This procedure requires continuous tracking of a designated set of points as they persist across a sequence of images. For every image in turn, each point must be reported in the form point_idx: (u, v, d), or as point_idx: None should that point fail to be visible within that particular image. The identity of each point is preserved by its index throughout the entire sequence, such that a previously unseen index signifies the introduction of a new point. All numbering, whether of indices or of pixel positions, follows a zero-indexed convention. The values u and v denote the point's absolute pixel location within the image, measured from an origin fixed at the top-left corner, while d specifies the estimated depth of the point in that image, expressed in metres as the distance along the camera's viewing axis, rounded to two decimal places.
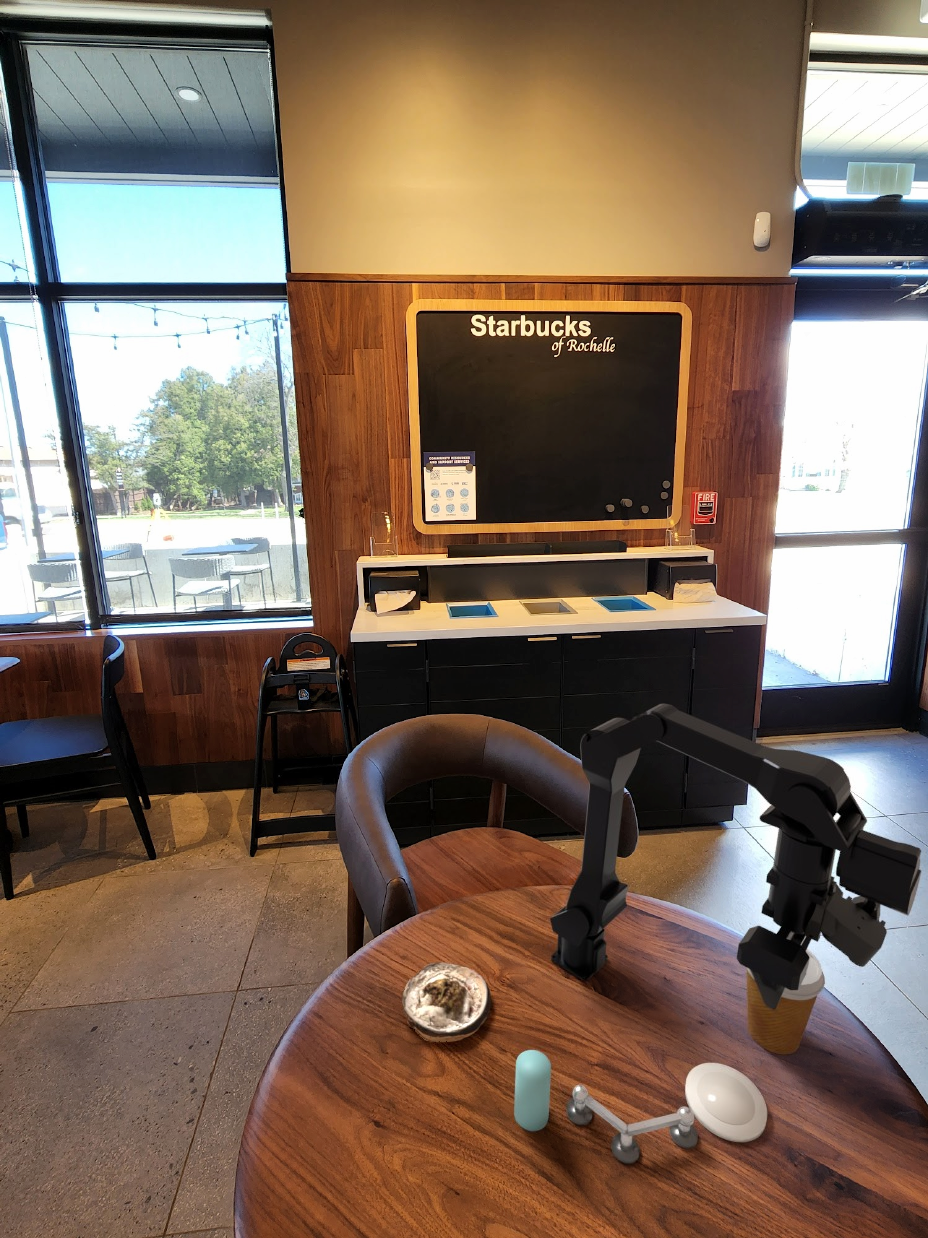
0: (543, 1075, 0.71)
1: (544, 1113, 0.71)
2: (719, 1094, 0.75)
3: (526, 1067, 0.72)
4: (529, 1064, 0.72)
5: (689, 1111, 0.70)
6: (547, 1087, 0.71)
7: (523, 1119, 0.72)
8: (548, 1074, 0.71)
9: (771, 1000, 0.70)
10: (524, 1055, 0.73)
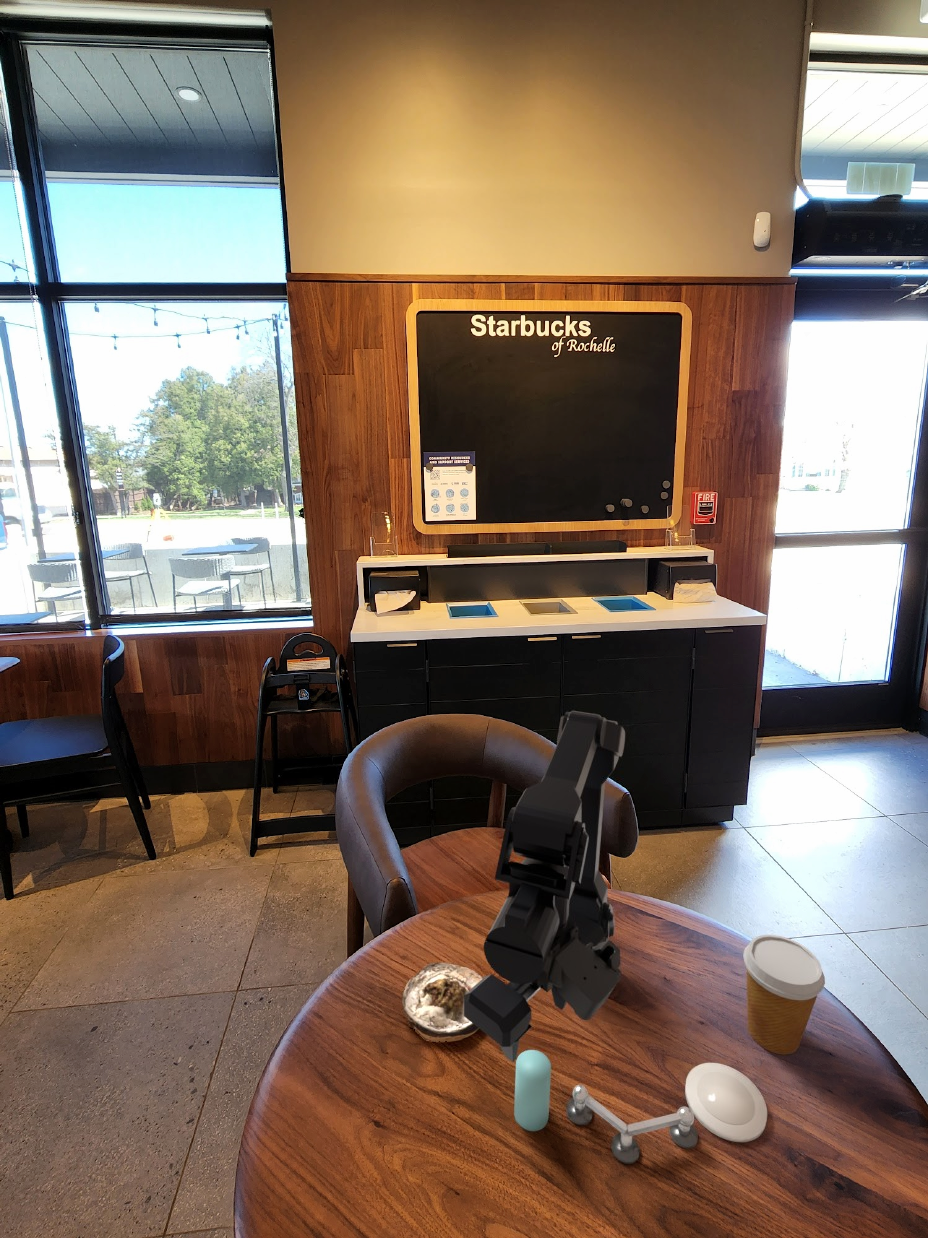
0: (543, 1075, 0.71)
1: (544, 1113, 0.71)
2: (719, 1094, 0.75)
3: (526, 1067, 0.72)
4: (529, 1064, 0.72)
5: (689, 1111, 0.70)
6: (547, 1087, 0.71)
7: (523, 1119, 0.72)
8: (548, 1074, 0.71)
9: (508, 1052, 0.67)
10: (524, 1055, 0.73)
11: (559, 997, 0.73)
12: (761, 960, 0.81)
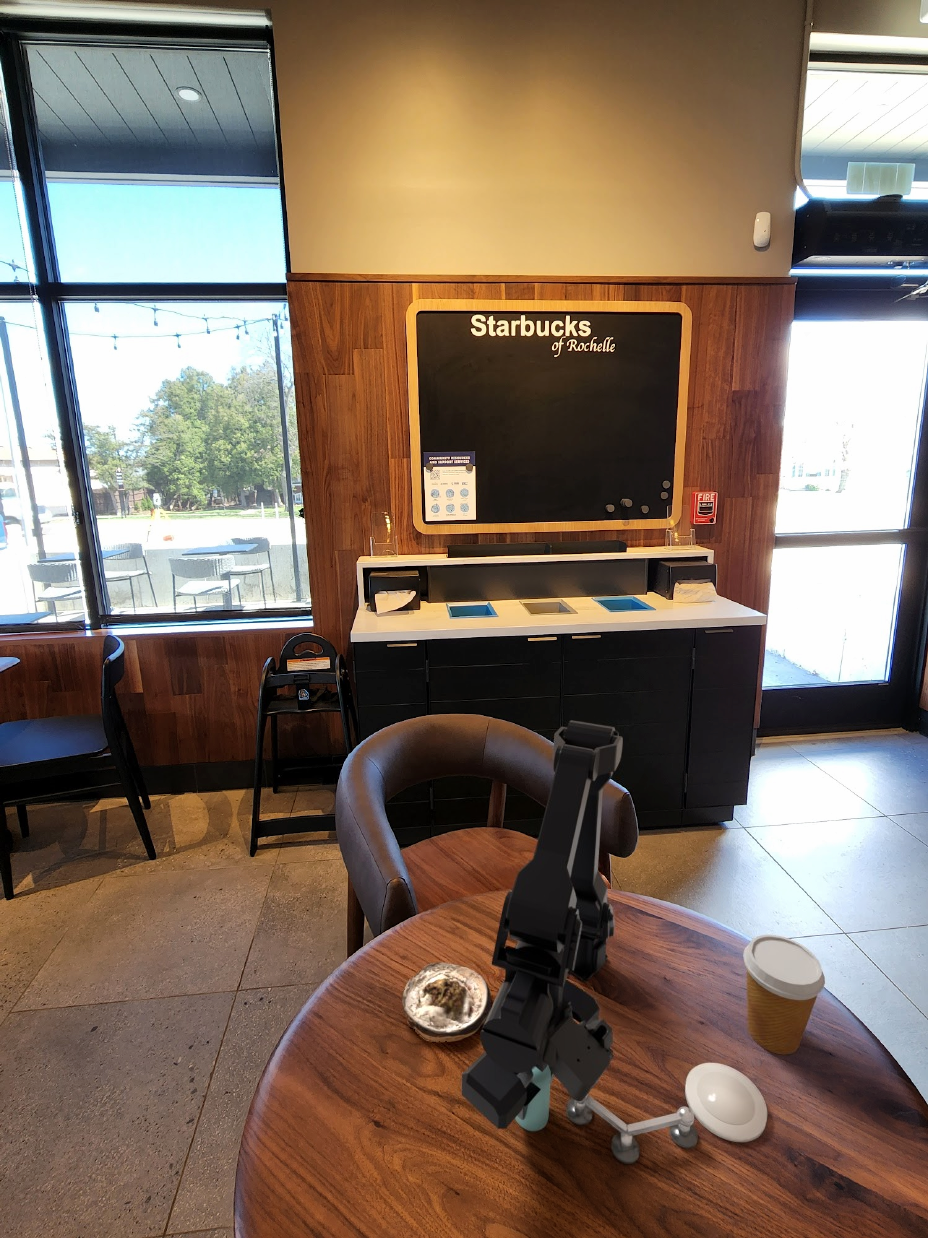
0: (543, 1075, 0.71)
1: (544, 1112, 0.71)
2: (719, 1094, 0.75)
3: None
4: None
5: (689, 1111, 0.70)
6: (547, 1087, 0.71)
7: None
8: (548, 1074, 0.71)
9: None
10: None
11: None
12: (761, 960, 0.81)
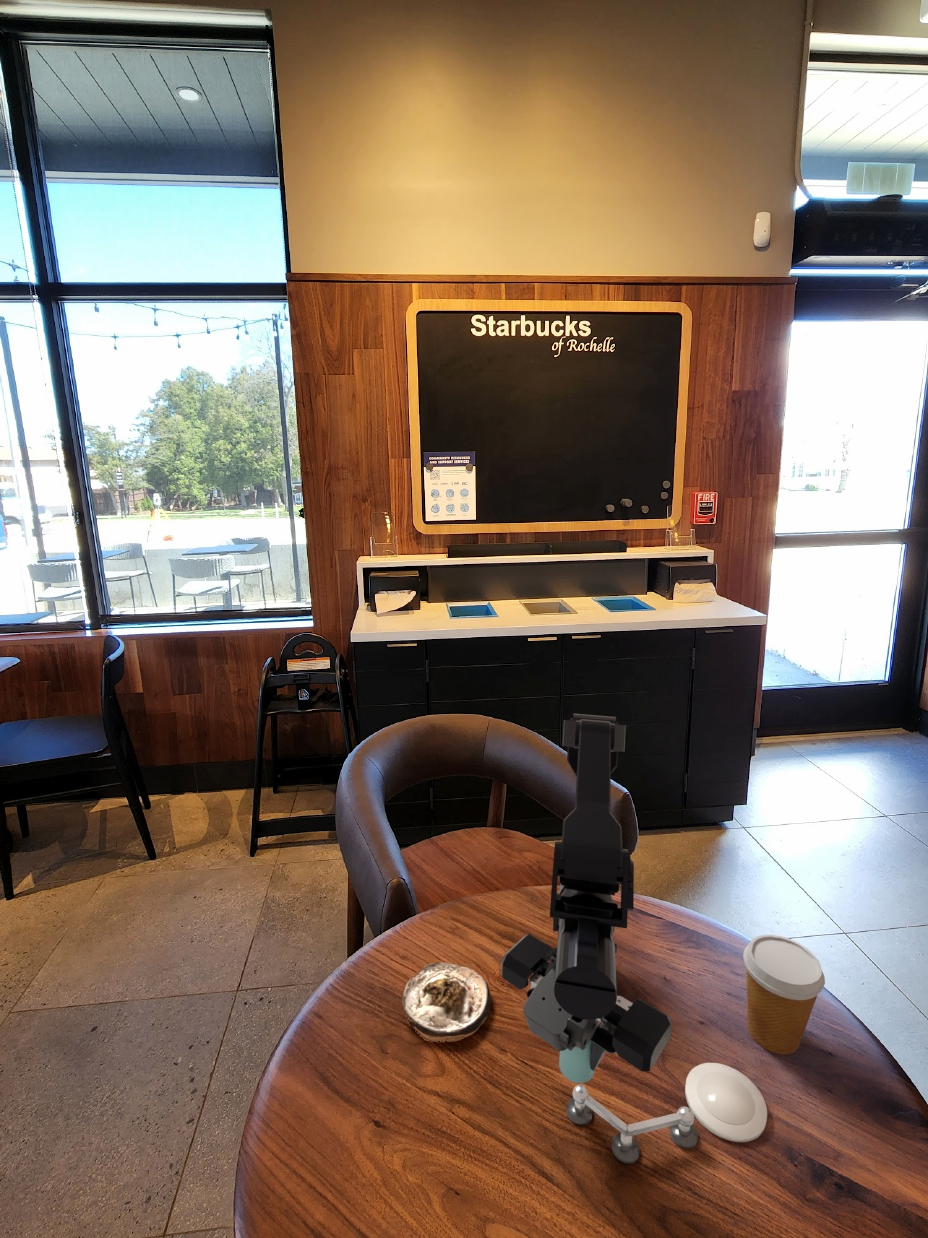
0: None
1: (566, 1062, 0.70)
2: (719, 1094, 0.75)
3: None
4: None
5: (689, 1111, 0.70)
6: None
7: None
8: None
9: None
10: None
11: None
12: (761, 960, 0.81)
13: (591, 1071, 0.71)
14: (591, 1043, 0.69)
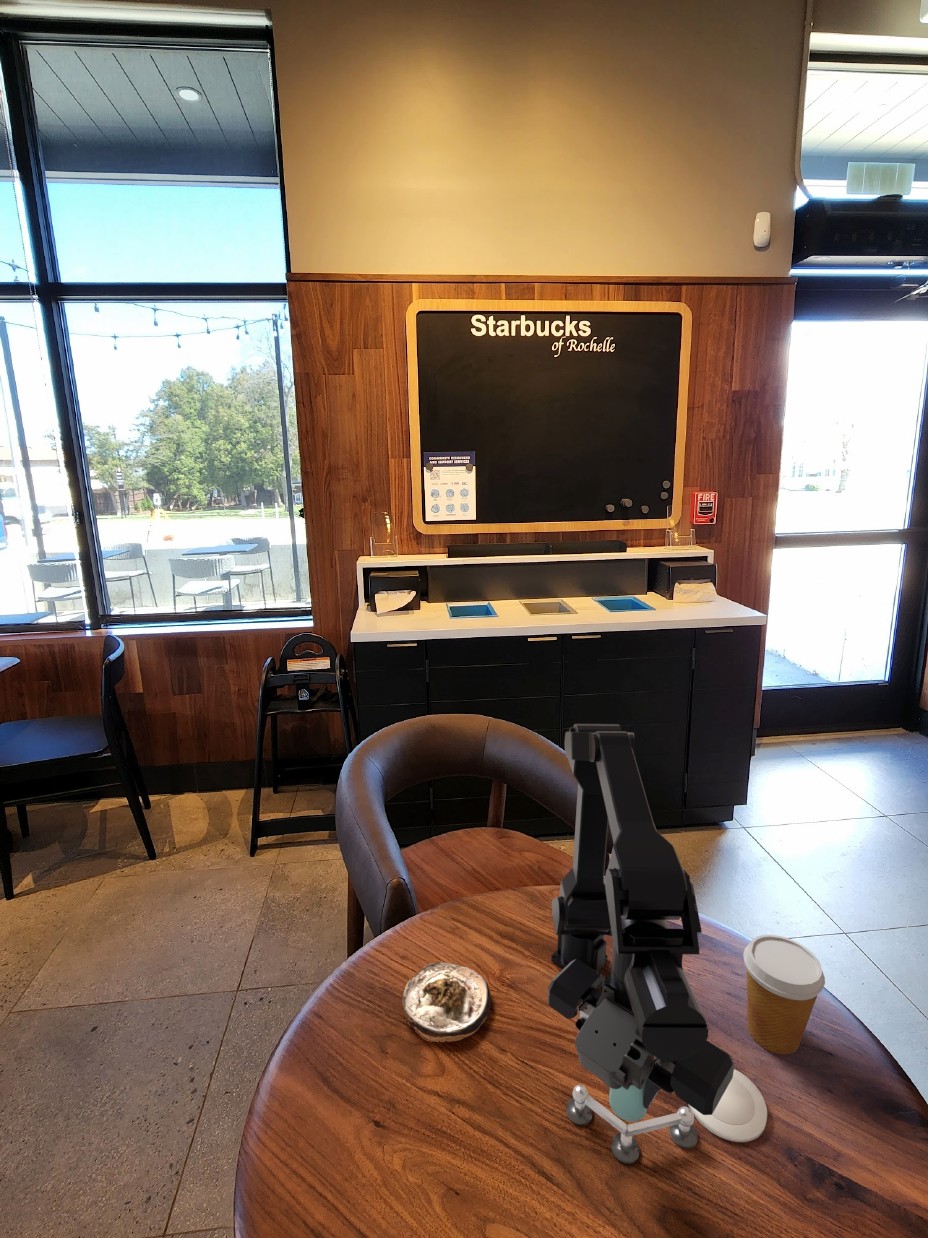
0: None
1: (617, 1098, 0.66)
2: None
3: None
4: None
5: (689, 1111, 0.70)
6: None
7: None
8: None
9: None
10: None
11: None
12: (761, 960, 0.81)
13: (644, 1109, 0.66)
14: None
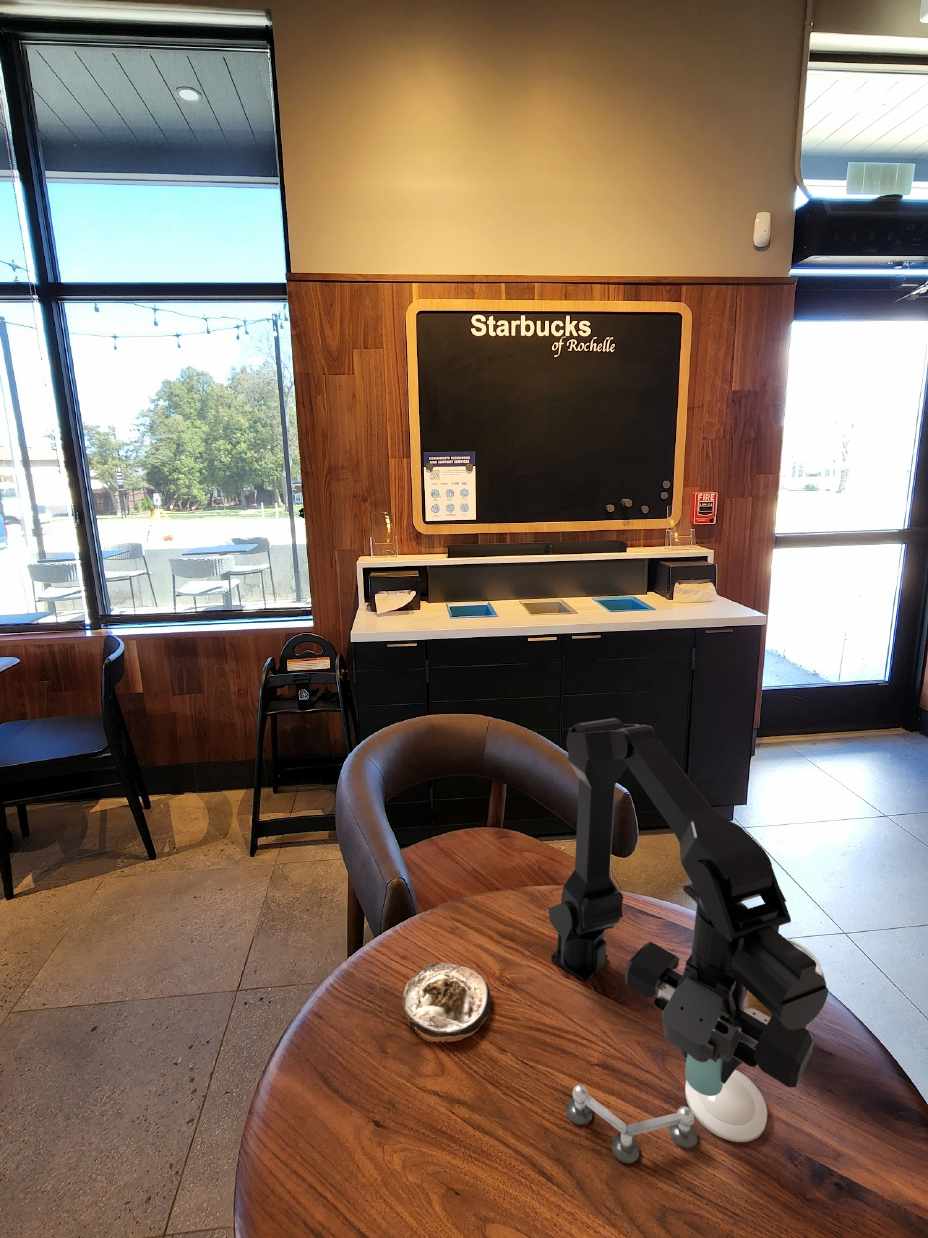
0: None
1: (695, 1073, 0.69)
2: (719, 1094, 0.75)
3: None
4: None
5: (689, 1111, 0.70)
6: None
7: None
8: None
9: None
10: None
11: None
12: None
13: (721, 1084, 0.69)
14: None
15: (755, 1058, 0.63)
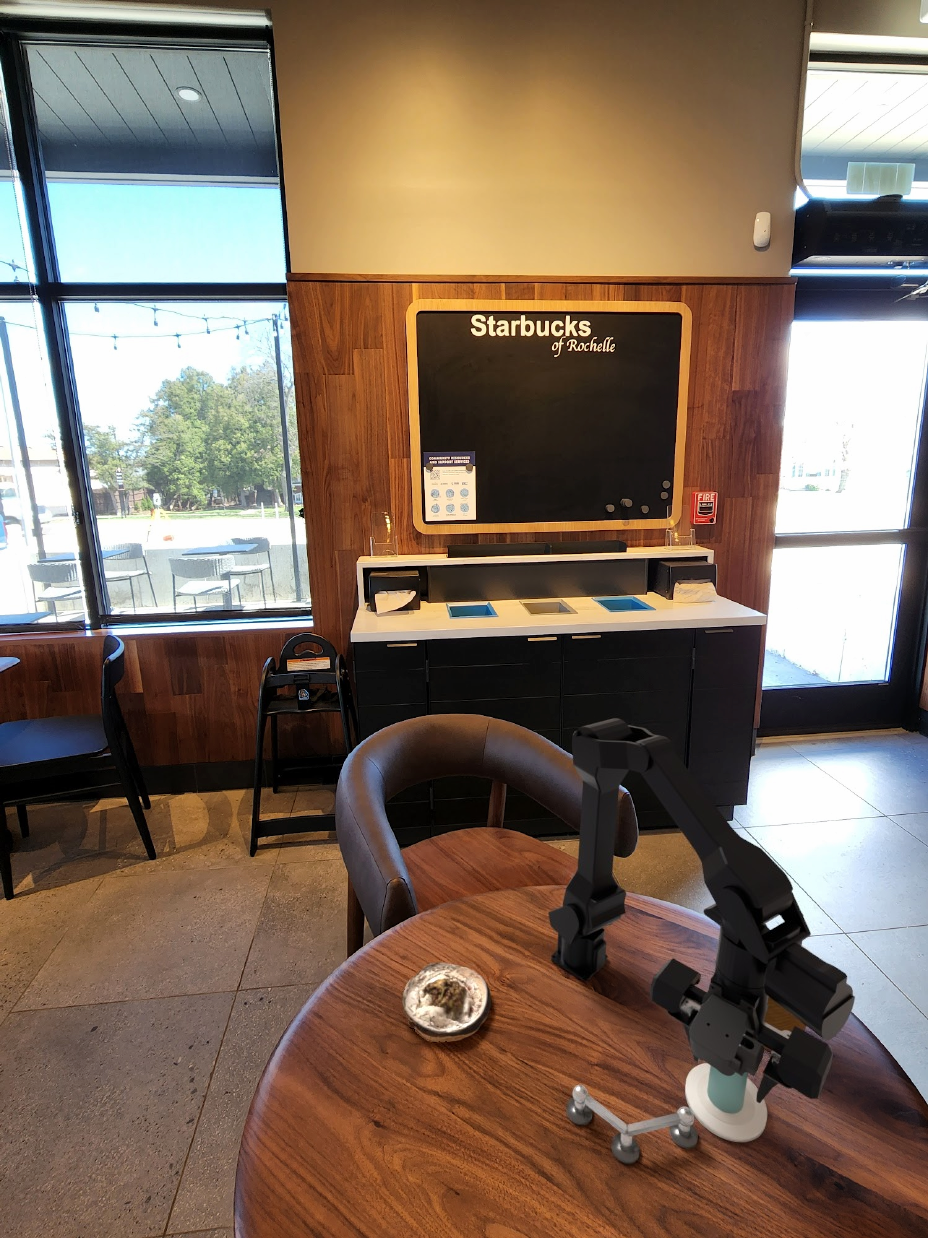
0: None
1: (717, 1092, 0.73)
2: None
3: None
4: None
5: (689, 1111, 0.70)
6: None
7: (709, 1079, 0.75)
8: None
9: None
10: None
11: None
12: None
13: (742, 1102, 0.73)
14: (744, 1075, 0.72)
15: (778, 1071, 0.66)
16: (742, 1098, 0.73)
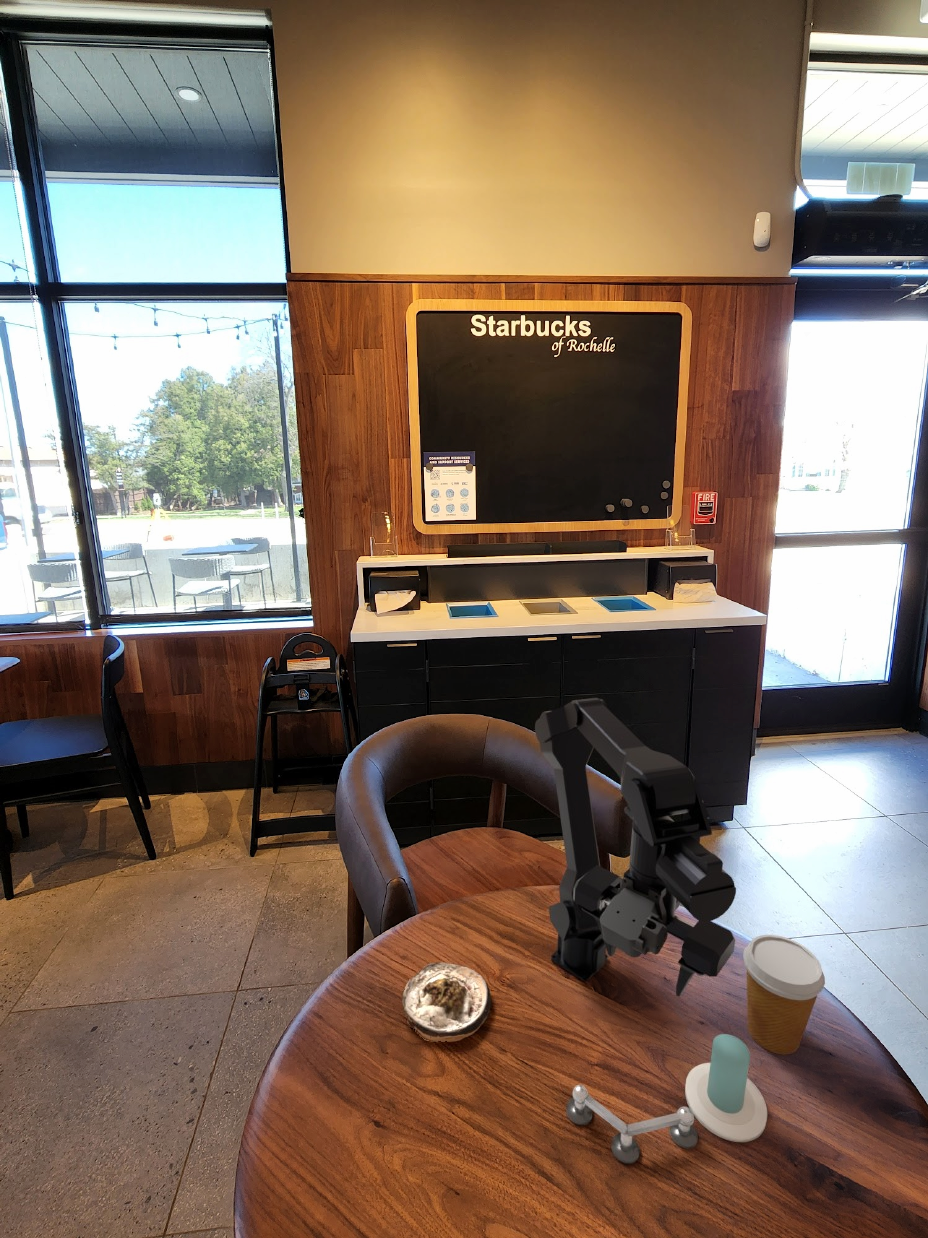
0: (724, 1057, 0.72)
1: (717, 1092, 0.73)
2: None
3: (726, 1042, 0.74)
4: (731, 1046, 0.73)
5: (689, 1111, 0.70)
6: (724, 1072, 0.72)
7: None
8: (728, 1061, 0.71)
9: None
10: (739, 1042, 0.74)
11: None
12: (761, 960, 0.81)
13: (742, 1102, 0.73)
14: (744, 1075, 0.72)
15: (682, 954, 0.71)
16: (742, 1098, 0.73)
